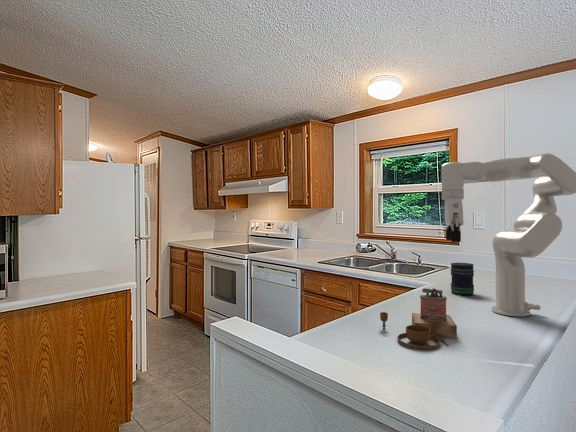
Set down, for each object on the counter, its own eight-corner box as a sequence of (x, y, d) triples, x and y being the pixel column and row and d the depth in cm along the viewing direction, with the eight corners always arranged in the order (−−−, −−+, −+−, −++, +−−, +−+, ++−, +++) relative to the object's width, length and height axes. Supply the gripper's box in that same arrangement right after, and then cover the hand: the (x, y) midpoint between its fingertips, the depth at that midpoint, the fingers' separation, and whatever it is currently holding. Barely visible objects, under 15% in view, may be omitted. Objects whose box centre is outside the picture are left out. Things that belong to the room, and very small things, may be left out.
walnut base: (449, 326, 117) (449, 315, 117) (456, 338, 106) (456, 325, 106) (411, 324, 120) (411, 312, 120) (415, 335, 109) (415, 322, 109)
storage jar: (475, 294, 166) (474, 263, 166) (473, 298, 158) (472, 265, 158) (452, 292, 171) (451, 262, 171) (449, 296, 163) (449, 264, 163)
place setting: (393, 352, 97) (393, 331, 97) (377, 329, 117) (377, 312, 117) (456, 352, 96) (456, 331, 96) (429, 329, 116) (429, 311, 116)
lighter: (446, 318, 113) (445, 288, 113) (447, 321, 110) (447, 290, 110) (419, 316, 116) (419, 286, 116) (420, 319, 112) (420, 288, 112)
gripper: (469, 193, 121) (469, 242, 121) (458, 196, 137) (459, 239, 137) (446, 194, 123) (446, 242, 123) (438, 197, 139) (438, 239, 139)
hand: (453, 240), depth 130 cm, fingers open, 9 cm apart
